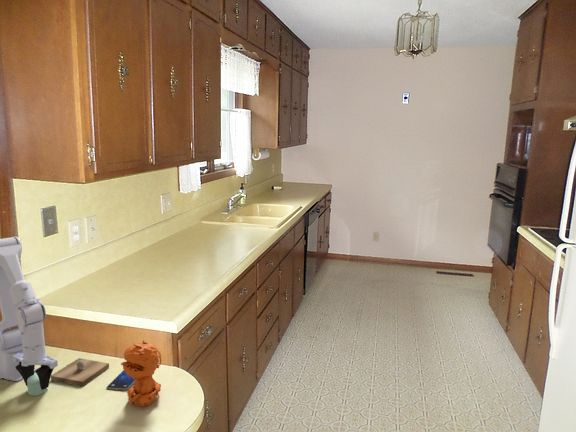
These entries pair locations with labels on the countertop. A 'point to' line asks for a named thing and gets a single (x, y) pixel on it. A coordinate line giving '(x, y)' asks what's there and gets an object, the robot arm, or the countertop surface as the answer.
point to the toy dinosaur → (142, 372)
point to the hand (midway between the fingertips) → (37, 386)
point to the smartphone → (121, 382)
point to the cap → (34, 386)
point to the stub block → (80, 372)
